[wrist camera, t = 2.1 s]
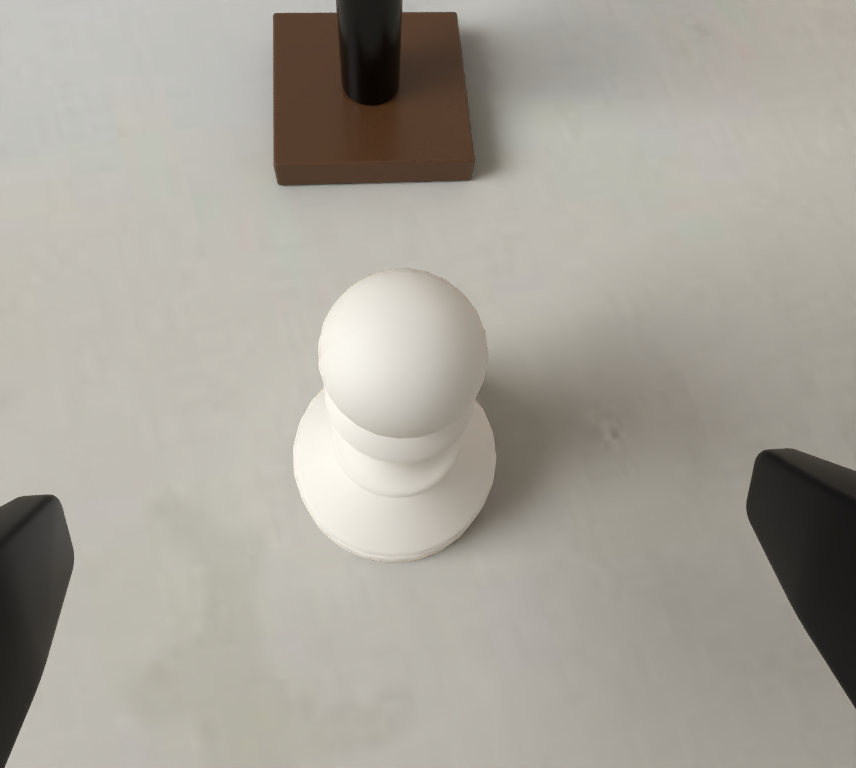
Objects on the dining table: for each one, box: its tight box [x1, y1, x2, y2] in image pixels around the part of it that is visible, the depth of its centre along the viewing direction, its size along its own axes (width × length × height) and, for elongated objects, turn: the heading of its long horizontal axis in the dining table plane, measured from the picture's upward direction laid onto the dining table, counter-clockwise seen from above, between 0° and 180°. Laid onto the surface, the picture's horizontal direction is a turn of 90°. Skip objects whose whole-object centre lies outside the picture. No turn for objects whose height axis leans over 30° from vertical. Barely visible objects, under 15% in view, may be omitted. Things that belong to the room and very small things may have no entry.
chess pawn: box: [293, 269, 496, 563], centre depth 15 cm, size 5×5×9 cm
